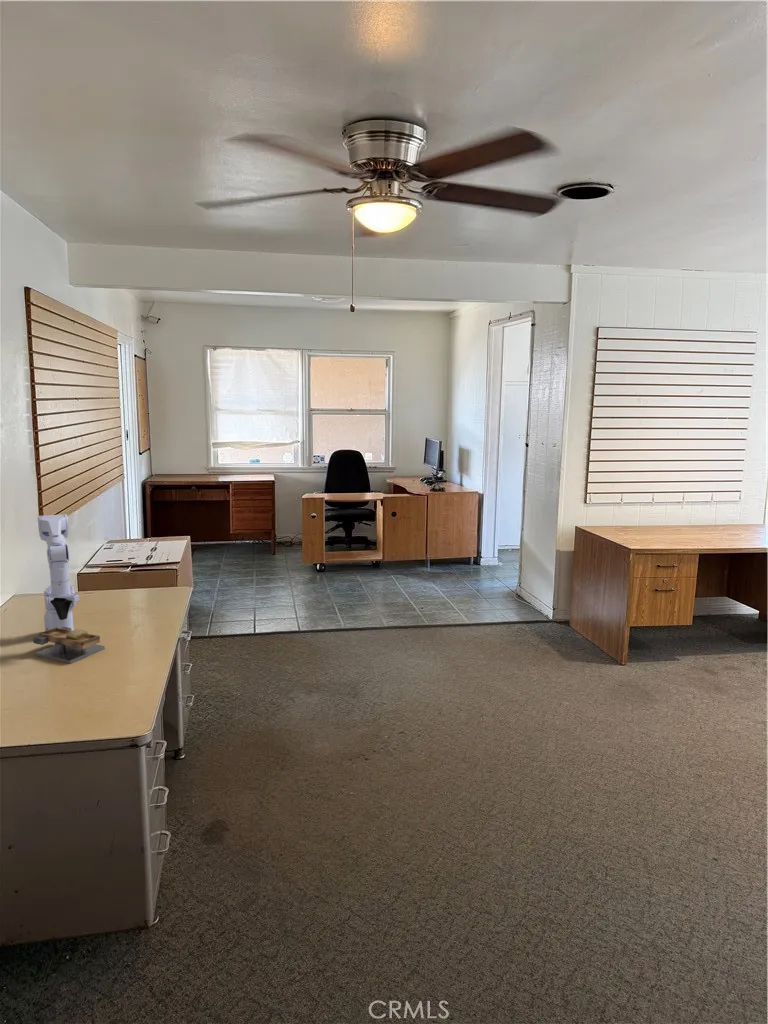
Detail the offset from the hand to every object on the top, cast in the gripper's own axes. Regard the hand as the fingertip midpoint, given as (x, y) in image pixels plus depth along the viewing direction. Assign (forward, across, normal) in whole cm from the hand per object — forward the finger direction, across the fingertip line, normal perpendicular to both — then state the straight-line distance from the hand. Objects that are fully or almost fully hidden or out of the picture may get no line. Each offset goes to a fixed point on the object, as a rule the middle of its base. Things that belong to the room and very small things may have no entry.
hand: (63, 618), depth 222 cm
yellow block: (+5, +10, -3) cm, 11 cm away
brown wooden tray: (+6, +6, -3) cm, 9 cm away
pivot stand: (+10, +6, -3) cm, 12 cm away
